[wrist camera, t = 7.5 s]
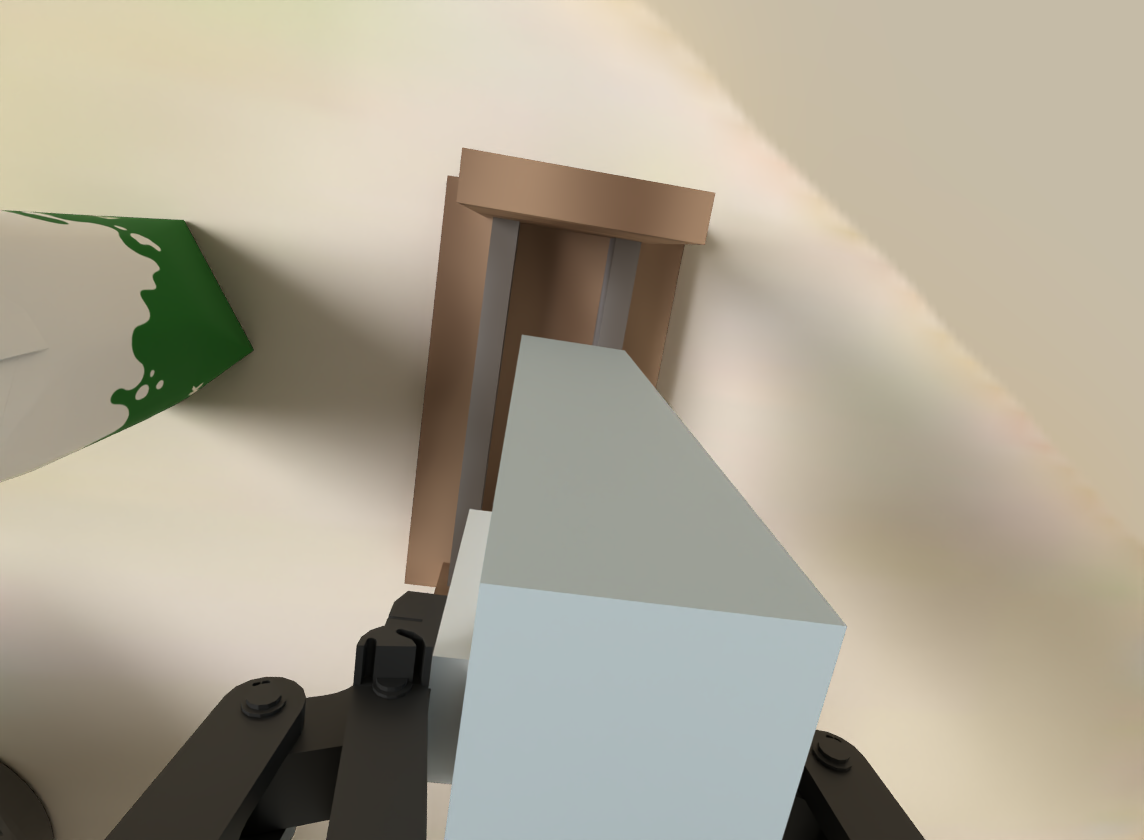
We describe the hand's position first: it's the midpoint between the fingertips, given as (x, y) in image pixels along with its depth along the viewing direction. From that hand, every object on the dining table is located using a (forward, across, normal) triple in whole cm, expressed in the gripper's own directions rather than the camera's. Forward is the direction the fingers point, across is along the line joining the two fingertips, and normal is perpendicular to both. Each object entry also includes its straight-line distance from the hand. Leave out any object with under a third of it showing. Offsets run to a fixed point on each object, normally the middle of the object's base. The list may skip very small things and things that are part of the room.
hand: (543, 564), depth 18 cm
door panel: (+2, 0, 0) cm, 2 cm away
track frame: (+18, 0, 0) cm, 18 cm away
